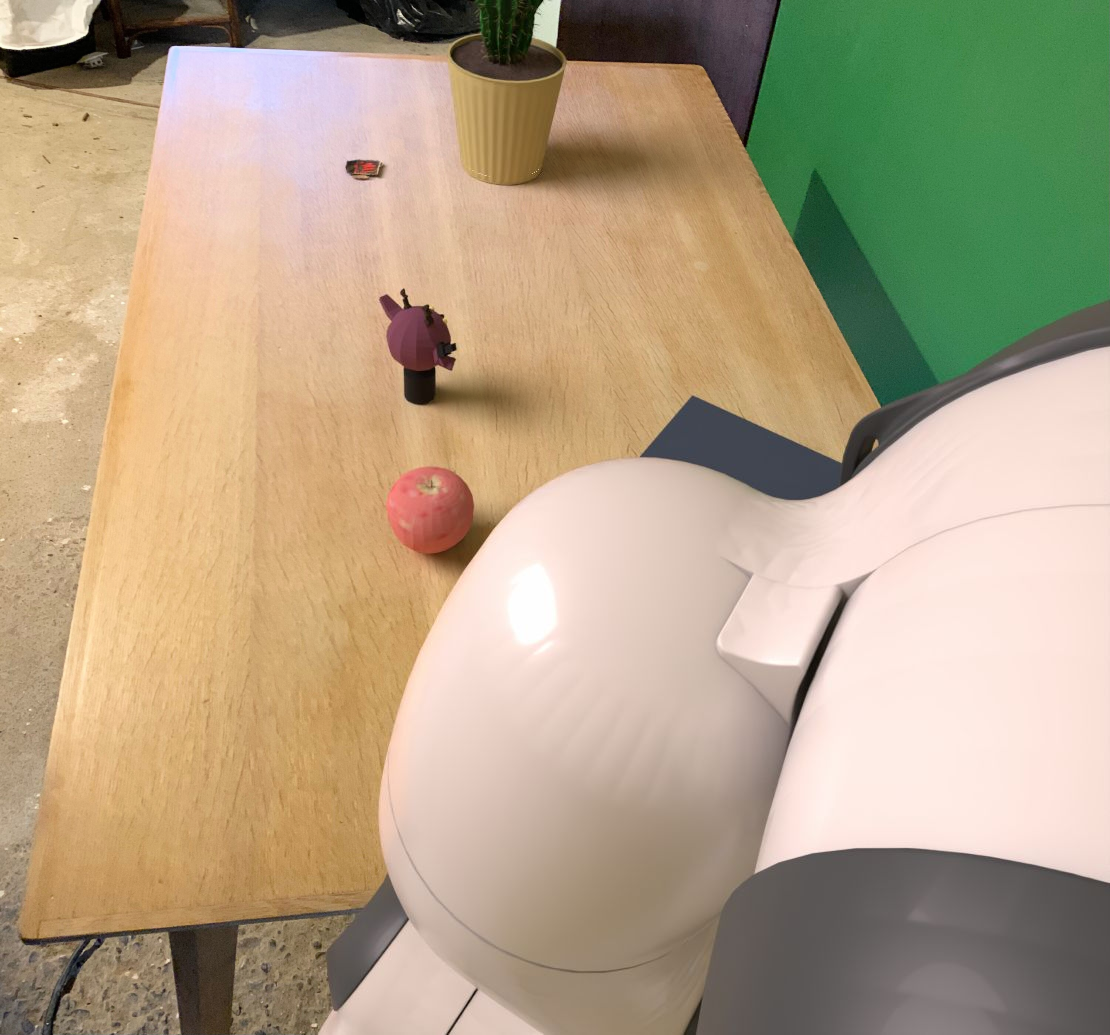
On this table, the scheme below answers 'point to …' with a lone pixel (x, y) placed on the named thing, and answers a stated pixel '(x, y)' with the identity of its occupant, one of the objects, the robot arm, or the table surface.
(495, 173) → the potted cactus
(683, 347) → the table surface
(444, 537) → the apple
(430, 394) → the figurine
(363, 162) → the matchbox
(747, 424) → the mat
